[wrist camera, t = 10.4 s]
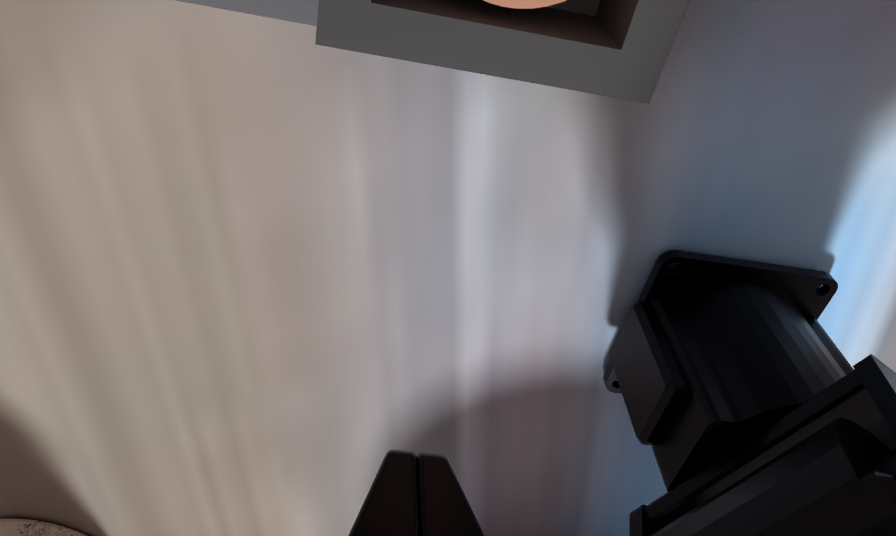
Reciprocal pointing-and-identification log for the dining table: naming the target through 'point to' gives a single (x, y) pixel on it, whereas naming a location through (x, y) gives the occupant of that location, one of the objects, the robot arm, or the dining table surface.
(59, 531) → the teacup with lid
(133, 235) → the dining table surface
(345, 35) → the control panel
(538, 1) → the button terracotta
